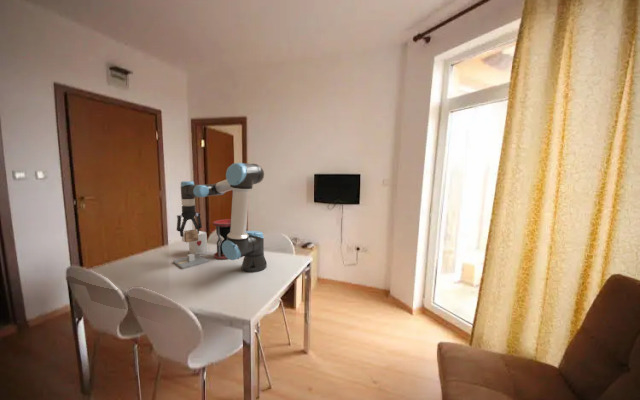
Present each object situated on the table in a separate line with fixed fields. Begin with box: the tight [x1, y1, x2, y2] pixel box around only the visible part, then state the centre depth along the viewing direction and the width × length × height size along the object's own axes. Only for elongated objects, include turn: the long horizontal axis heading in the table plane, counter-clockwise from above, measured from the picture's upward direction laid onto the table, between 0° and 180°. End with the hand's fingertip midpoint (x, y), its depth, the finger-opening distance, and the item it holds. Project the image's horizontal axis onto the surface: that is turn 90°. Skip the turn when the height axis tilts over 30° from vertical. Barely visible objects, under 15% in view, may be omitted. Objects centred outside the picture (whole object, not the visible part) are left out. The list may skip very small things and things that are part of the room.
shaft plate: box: [173, 253, 210, 270], centre depth 159 cm, size 16×16×5 cm
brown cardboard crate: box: [183, 229, 198, 244], centre depth 157 cm, size 7×7×6 cm
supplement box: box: [188, 230, 208, 256], centre depth 178 cm, size 9×9×15 cm
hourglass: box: [212, 218, 231, 260], centre depth 171 cm, size 16×16×25 cm
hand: (190, 240), depth 158 cm, fingers closed on brown cardboard crate, 7 cm apart
